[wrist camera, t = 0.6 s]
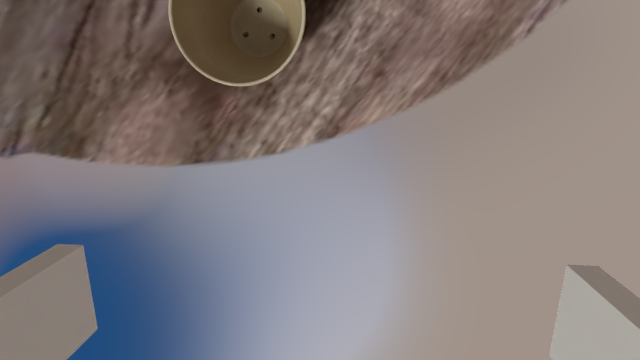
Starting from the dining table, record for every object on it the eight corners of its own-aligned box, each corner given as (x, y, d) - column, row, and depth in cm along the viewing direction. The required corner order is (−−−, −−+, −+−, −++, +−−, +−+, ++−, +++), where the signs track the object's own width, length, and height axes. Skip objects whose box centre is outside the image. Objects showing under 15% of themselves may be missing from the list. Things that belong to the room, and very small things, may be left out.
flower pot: (306, -45, 32) (293, -79, 25) (322, 77, 35) (314, 76, 28) (194, -25, 33) (153, -52, 27) (216, 92, 36) (184, 94, 29)
